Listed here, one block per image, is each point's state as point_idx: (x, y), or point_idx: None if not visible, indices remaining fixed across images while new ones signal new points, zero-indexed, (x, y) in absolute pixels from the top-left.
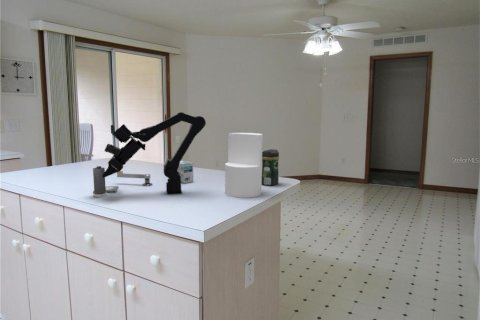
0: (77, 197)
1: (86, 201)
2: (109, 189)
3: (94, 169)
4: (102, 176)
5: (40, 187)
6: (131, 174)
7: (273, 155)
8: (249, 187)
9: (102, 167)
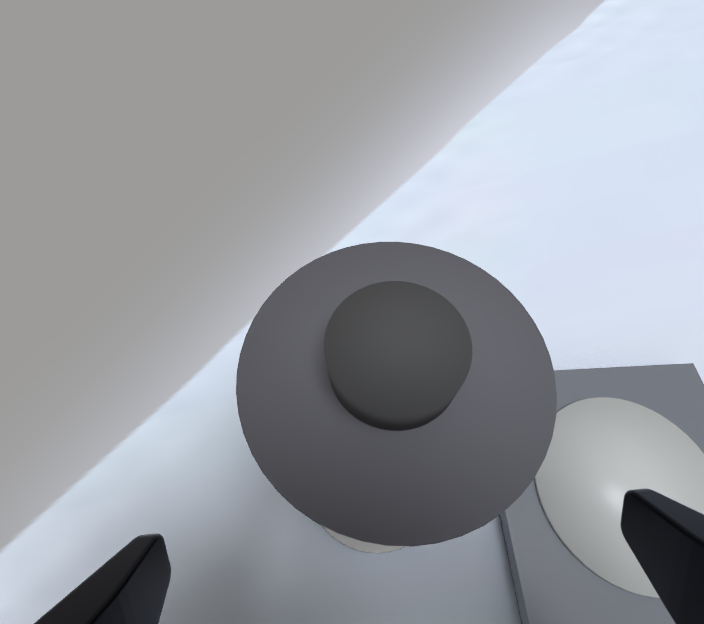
0: None
1: (182, 397)
2: (580, 545)
3: (272, 295)
4: (143, 544)
5: (606, 51)
6: None
7: None
8: None
9: (543, 439)
